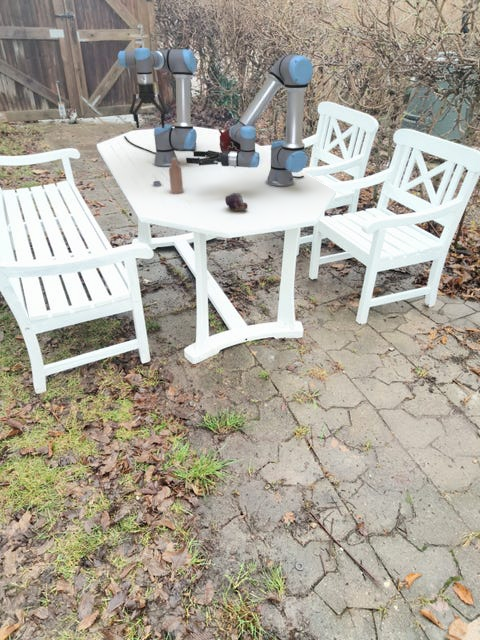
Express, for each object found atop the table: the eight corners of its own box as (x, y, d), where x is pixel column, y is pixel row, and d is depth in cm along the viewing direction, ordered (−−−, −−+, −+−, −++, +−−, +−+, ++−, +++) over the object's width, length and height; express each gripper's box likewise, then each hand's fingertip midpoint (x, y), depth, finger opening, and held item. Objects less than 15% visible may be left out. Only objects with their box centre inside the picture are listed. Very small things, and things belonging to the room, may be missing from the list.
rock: (239, 207, 231) (221, 210, 227) (238, 190, 228) (220, 192, 223) (250, 210, 222) (232, 213, 218) (249, 193, 218) (231, 195, 214)
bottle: (175, 189, 252) (172, 156, 242) (185, 190, 250) (182, 157, 240) (168, 192, 247) (165, 159, 237) (179, 194, 245) (176, 161, 235)
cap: (153, 186, 256) (153, 183, 255) (153, 184, 260) (153, 181, 259) (160, 186, 257) (160, 182, 256) (160, 183, 260) (160, 180, 259)
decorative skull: (216, 132, 306) (216, 129, 283) (250, 124, 306) (252, 120, 282) (223, 164, 313) (223, 164, 290) (256, 156, 312) (259, 156, 289)
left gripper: (119, 84, 226) (126, 129, 238) (168, 84, 225) (172, 129, 237) (123, 82, 232) (129, 126, 244) (171, 82, 232) (174, 126, 244)
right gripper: (224, 173, 225) (183, 171, 228) (234, 159, 245) (196, 158, 248) (224, 157, 221) (182, 155, 224) (234, 145, 241) (196, 143, 244)
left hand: (150, 127), depth 241 cm, fingers open, 13 cm apart
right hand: (190, 157), depth 236 cm, fingers open, 13 cm apart
